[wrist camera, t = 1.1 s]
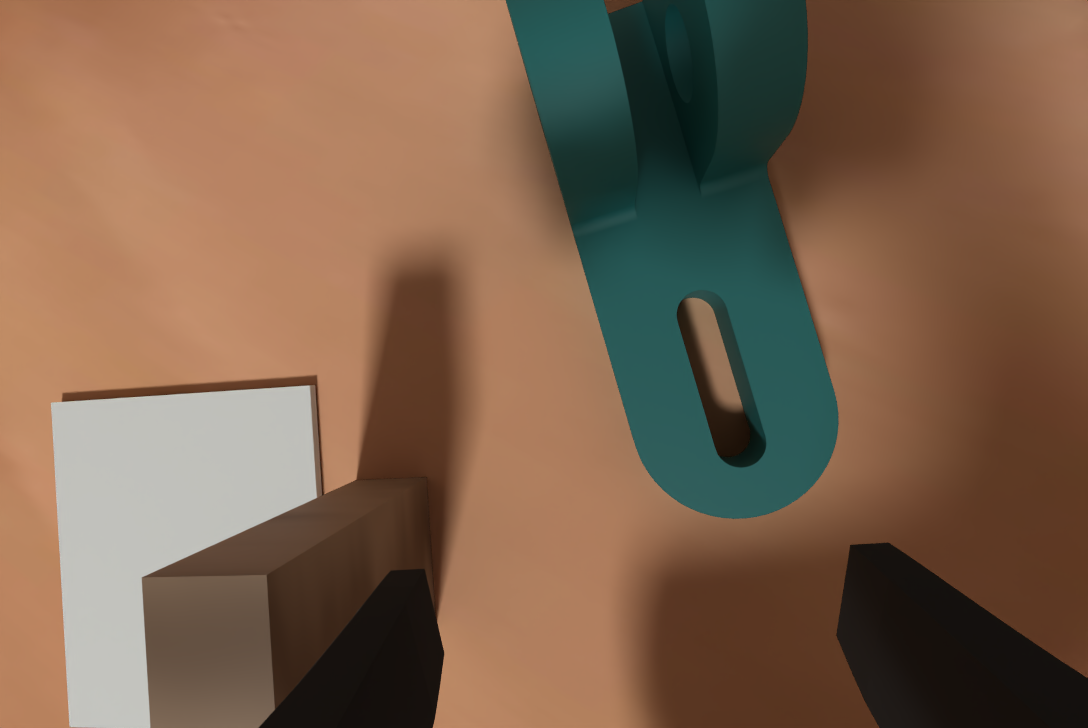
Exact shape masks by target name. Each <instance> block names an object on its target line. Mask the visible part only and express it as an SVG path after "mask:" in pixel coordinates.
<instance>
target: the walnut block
mask: <svg viewBox="0 0 1088 728" xmlns="http://www.w3.org/2000/svg"><path fill="white" fill-rule="evenodd" d="M409 569H425V572H426V576H427V581H428V585H429V589H430V594H431V598H432V602H433V607H434V611H435V599H434V583H433V568H432V553H431V537H430V522H429V506H428V491H427V477H418V478H394V479H371V480H355V481H353V482H351V483H349V484H347V485H344V486H342V487H340V488H338V489H336V490H333V491H331V492H329V493H327V494H324V495H322V496H320V497H318V498H316V499H313V500H311V501H309V502H307V503H305V504H302V505H300V506H298V507H296V508H294V509H291V510H289V511H287V512H285V513H283V514H280V515H278V516H276V517H274V518H272V519H269V520H267V521H265V522H263V523H261V524H258V525H256V526H254V527H252V528H250V529H247V530H245V531H243V532H241V533H239V534H236V535H234V536H232V537H230V538H228V539H225V540H223V541H221V542H219V543H217V544H214V545H212V546H210V547H208V548H205V549H203V550H201V551H199V552H197V553H194V554H192V555H190V556H188V557H186V558H183V559H181V560H179V561H177V562H175V563H172V564H170V565H168V566H166V567H164V568H161V569H159V570H157V571H155V572H153V573H150V574H148V575H146V576H144V577H142V594H143V611H144V627H145V644H146V661H147V678H148V695H149V712H150V728H259V726H260V725H261V724H262V723H263V722H264V721H265V720H266V719H267V718H268V717H269V715H270V714H271V713H272V712H273V711H274V710H275V709H276V708H277V707H278V705H279V704H280V703H281V702H282V701H283V700H284V699H285V698H286V697H287V695H288V694H289V693H290V692H291V691H292V690H293V689H294V687H295V686H296V685H297V684H298V683H299V682H300V680H301V679H302V678H303V677H304V676H305V674H306V673H307V672H308V671H309V670H310V668H311V667H312V666H313V665H314V664H315V662H316V661H317V660H318V659H319V658H320V656H321V655H322V654H323V653H324V652H325V651H326V649H327V648H328V647H329V646H330V645H331V643H332V642H333V641H334V640H335V638H336V637H337V636H338V635H339V634H340V632H341V631H342V630H343V629H344V627H345V626H346V625H347V624H348V622H349V621H350V620H351V619H352V617H353V616H354V615H355V614H356V612H357V611H358V610H359V609H360V607H361V606H362V605H363V604H364V602H365V601H366V600H367V599H368V597H369V596H370V595H371V594H372V592H373V591H374V590H375V589H376V587H377V586H378V585H379V584H380V582H381V581H382V580H383V579H384V577H385V576H386V575H387V574H388V573H389V572H390V571H391V570H409ZM435 615H436V614H435Z"/></svg>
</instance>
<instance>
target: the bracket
mask: <svg viewBox="0 0 1088 728" xmlns="http://www.w3.org/2000/svg"><path fill="white" fill-rule="evenodd" d="M506 3H507V7H508V10H509V14H510V17H511V21H512V24H513V28H514V31H515V35H516V38H517V42H518V45H519V49H520V52H521V56H522V59H523V63H524V66H525V70H526V73H527V77H528V80H529V84H530V87H531V90H532V94H533V97H534V101H535V104H536V108H537V111H538V114H539V118H540V121H541V125H542V128H543V132H544V135H545V138H546V142H547V145H548V149H549V152H550V155H551V159H552V162H553V166H554V169H555V173H556V176H557V179H558V183H559V186H560V190H561V193H562V197H563V200H564V203H565V207H566V210H567V214H568V217H569V221H570V224H571V227H572V231H573V234H574V238H575V241H576V245H577V248H578V251H579V255H580V258H581V262H582V265H583V269H584V272H585V275H586V279H587V282H588V286H589V289H590V292H591V296H592V299H593V303H594V306H595V310H596V313H597V316H598V320H599V323H600V327H601V330H602V334H603V337H604V340H605V344H606V347H607V351H608V354H609V358H610V361H611V364H612V368H613V371H614V375H615V378H616V382H617V385H618V388H619V392H620V395H621V399H622V402H623V406H624V409H625V412H626V416H627V419H628V423H629V426H630V429H631V433H632V436H633V440H634V443H635V446H636V449H637V451H638V454H639V456H640V459H641V461H642V463H643V465H644V466H645V468H646V470H647V471H648V473H649V474H650V476H651V477H652V478H653V479H654V481H655V482H656V483H657V484H658V485H659V486H660V487H661V488H662V489H663V490H664V491H665V492H666V493H667V494H669V495H670V496H671V497H672V498H674V499H675V500H677V501H678V502H680V503H681V504H683V505H685V506H687V507H689V508H691V509H693V510H695V511H698V512H700V513H704V514H707V515H710V516H715V517H721V518H732V519H739V518H751V517H757V516H761V515H766V514H769V513H772V512H774V511H777V510H779V509H781V508H783V507H785V506H787V505H789V504H791V503H792V502H794V501H795V500H797V499H798V498H800V497H801V496H802V495H803V494H805V493H806V492H807V491H808V490H809V489H810V488H811V487H812V486H813V485H814V484H815V482H816V481H817V480H818V479H819V477H820V476H821V475H822V473H823V471H824V470H825V468H826V467H827V465H828V462H829V460H830V458H831V456H832V453H833V450H834V447H835V443H836V439H837V433H838V407H837V401H836V397H835V393H834V389H833V386H832V383H831V379H830V376H829V373H828V370H827V366H826V363H825V360H824V357H823V353H822V350H821V347H820V344H819V340H818V337H817V334H816V330H815V327H814V324H813V321H812V317H811V314H810V311H809V308H808V304H807V301H806V298H805V295H804V291H803V288H802V285H801V282H800V278H799V275H798V272H797V269H796V265H795V262H794V259H793V256H792V252H791V249H790V246H789V243H788V239H787V236H786V233H785V230H784V226H783V223H782V220H781V217H780V213H779V210H778V207H777V204H776V200H775V197H774V194H773V191H772V187H771V184H770V181H769V178H768V173H767V163H768V161H769V159H770V158H771V157H772V156H773V154H774V153H775V152H776V150H777V149H778V148H779V147H780V145H781V144H782V143H783V141H784V140H785V139H786V137H787V136H788V135H789V133H790V132H791V130H792V128H793V126H794V124H795V121H796V119H797V116H798V113H799V109H800V106H801V102H802V97H803V92H804V86H805V79H806V69H807V52H808V28H807V10H806V0H643V1H642V2H639V3H637V4H634V5H631V6H629V7H626V8H623V9H620V10H618V11H615V12H612V13H610V14H608V13H607V10H606V6H605V3H604V0H506ZM687 298H699V299H702V300H704V301H706V302H707V303H708V304H709V305H710V306H711V307H712V308H713V310H714V313H715V316H716V319H717V323H718V326H719V329H720V333H721V336H722V339H723V343H724V346H725V349H726V353H727V356H728V359H729V362H730V366H731V369H732V372H733V376H734V379H735V382H736V386H737V389H738V392H739V396H740V399H741V402H742V406H743V409H744V412H745V416H746V419H747V422H748V426H749V429H750V441H749V444H748V446H747V447H746V449H745V450H744V451H743V452H741V453H740V454H738V455H736V456H733V457H722V456H719V455H718V454H717V452H716V449H715V446H714V442H713V439H712V436H711V432H710V429H709V426H708V422H707V419H706V416H705V412H704V409H703V405H702V402H701V399H700V395H699V392H698V389H697V385H696V382H695V379H694V375H693V372H692V369H691V365H690V362H689V358H688V355H687V352H686V348H685V345H684V342H683V338H682V335H681V332H680V328H679V325H678V321H677V309H678V306H679V304H680V302H681V301H682V300H684V299H687Z"/></svg>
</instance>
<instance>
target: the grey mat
mask: <svg viewBox="0 0 1088 728" xmlns="http://www.w3.org/2000/svg"><path fill="white" fill-rule="evenodd" d="M51 409H52V426H53V444H54V461H55V479H56V496H57V514H58V531H59V549H60V566H61V584H62V601H63V619H64V636H65V654H66V671H67V689H68V706H69V724H70V727H95V728H150V712H149V695H148V678H147V661H146V644H145V627H144V611H143V594H142V577H144V576H146V575H148V574H150V573H153V572H155V571H157V570H159V569H161V568H164V567H166V566H168V565H170V564H172V563H175V562H177V561H179V560H181V559H183V558H186V557H188V556H190V555H192V554H194V553H197V552H199V551H201V550H203V549H205V548H208V547H210V546H212V545H214V544H217V543H219V542H221V541H223V540H225V539H228V538H230V537H232V536H234V535H236V534H239V533H241V532H243V531H245V530H247V529H250V528H252V527H254V526H256V525H258V524H261V523H263V522H265V521H267V520H269V519H272V518H274V517H276V516H278V515H280V514H283V513H285V512H287V511H289V510H291V509H294V508H296V507H298V506H300V505H302V504H305V503H307V502H309V501H311V500H313V499H316V498H318V497H320V496H322V485H321V469H320V453H319V437H318V421H317V405H316V389H315V385H308V386H293V387H278V388H263V389H249V390H234V391H219V392H204V393H189V394H174V395H159V396H144V397H129V398H114V399H99V400H84V401H70V402H55V403H51Z"/></svg>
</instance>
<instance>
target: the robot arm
mask: <svg viewBox="0 0 1088 728" xmlns="http://www.w3.org/2000/svg"><path fill="white" fill-rule="evenodd" d="M837 638H838V640H839V643H840V645H841V647H842V650H843V652H844V655H845V657H846V659H847V662H848V664H849V667H850V669H851V671H852V674H853V676H854V678H855V680H856V682H857V685H858V687H859V689H860V691H861V694H862V696H863V698H864V700H865V702H866V704H867V706H868V708H869V710H870V711H871V713H872V715H873V717H874V719H875V720H876V722H877V724H878V726H879V728H1088V678H1086V677H1085V676H1083V675H1082V674H1080V673H1079V672H1077V671H1075V670H1074V669H1072V668H1071V667H1069V666H1068V665H1066V664H1065V663H1063V662H1062V661H1060V660H1059V659H1057V658H1056V657H1054V656H1053V655H1051V654H1050V653H1048V652H1047V651H1045V650H1044V649H1042V648H1041V647H1039V646H1038V645H1036V644H1035V643H1033V642H1032V641H1030V640H1029V639H1027V638H1026V637H1024V636H1023V635H1022V634H1020V633H1019V632H1017V631H1016V630H1014V629H1013V628H1011V627H1010V626H1008V625H1007V624H1005V623H1004V622H1003V621H1001V620H1000V619H998V618H997V617H995V616H994V615H992V614H991V613H989V612H988V611H987V610H985V609H984V608H982V607H981V606H979V605H978V604H977V603H975V602H974V601H972V600H971V599H969V598H968V597H967V596H965V595H964V594H962V593H961V592H959V591H958V590H957V589H955V588H954V587H952V586H951V585H949V584H948V583H947V582H945V581H944V580H942V579H941V578H939V577H938V576H937V575H935V574H934V573H932V572H931V571H929V570H928V569H927V568H925V567H924V566H922V565H921V564H919V563H918V562H916V561H915V560H914V559H912V558H911V557H909V556H908V555H906V554H905V553H903V552H902V551H900V550H899V549H897V548H896V547H894V546H893V545H891V544H890V543H876V544H858V545H850V551H849V557H848V564H847V570H846V577H845V583H844V590H843V596H842V603H841V609H840V615H839V622H838V628H837ZM443 659H444V650H443V646H442V641H441V637H440V633H439V628H438V624H437V620H436V615H435V611H434V607H433V602H432V598H431V594H430V589H429V585H428V581H427V576H426V572H425V569H409V570H391V571H390V572H389V573H388V574H387V575H386V576H385V577H384V579H383V580H382V581H381V582H380V584H379V585H378V586H377V587H376V589H375V590H374V591H373V592H372V594H371V595H370V596H369V597H368V599H367V600H366V601H365V602H364V604H363V605H362V606H361V607H360V609H359V610H358V611H357V612H356V614H355V615H354V616H353V617H352V619H351V620H350V621H349V622H348V624H347V625H346V626H345V627H344V629H343V630H342V631H341V632H340V634H339V635H338V636H337V637H336V638H335V640H334V641H333V642H332V643H331V645H330V646H329V647H328V648H327V649H326V651H325V652H324V653H323V654H322V655H321V656H320V658H319V659H318V660H317V661H316V662H315V664H314V665H313V666H312V667H311V668H310V670H309V671H308V672H307V673H306V674H305V676H304V677H303V678H302V679H301V680H300V682H299V683H298V684H297V685H296V686H295V687H294V689H293V690H292V691H291V692H290V693H289V694H288V695H287V697H286V698H285V699H284V700H283V701H282V702H281V703H280V704H279V705H278V707H277V708H276V709H275V710H274V711H273V712H272V713H271V714H270V715H269V717H268V718H267V719H266V720H265V721H264V722H263V723H262V724H261V725H260V726H259V728H433V724H434V720H435V714H436V708H437V701H438V695H439V688H440V681H441V674H442V666H443Z"/></svg>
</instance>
